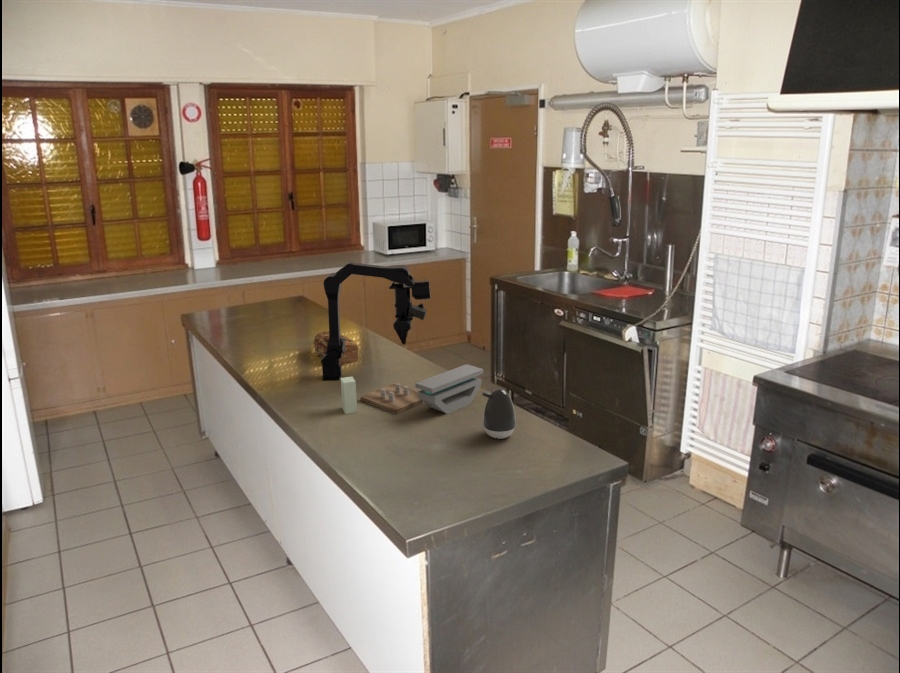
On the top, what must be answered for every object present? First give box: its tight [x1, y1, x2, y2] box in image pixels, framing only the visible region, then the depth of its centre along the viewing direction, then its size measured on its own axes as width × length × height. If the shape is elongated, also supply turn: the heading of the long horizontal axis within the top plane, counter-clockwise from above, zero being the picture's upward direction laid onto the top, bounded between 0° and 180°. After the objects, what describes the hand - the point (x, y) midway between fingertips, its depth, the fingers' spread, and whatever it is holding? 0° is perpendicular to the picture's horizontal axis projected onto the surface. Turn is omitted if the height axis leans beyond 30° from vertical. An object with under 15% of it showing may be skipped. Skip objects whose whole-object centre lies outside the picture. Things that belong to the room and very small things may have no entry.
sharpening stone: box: [414, 363, 484, 415], centre depth 235 cm, size 25×8×11 cm, turn 136°
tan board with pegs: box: [360, 382, 424, 415], centre depth 241 cm, size 16×18×4 cm
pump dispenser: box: [481, 388, 517, 440], centre depth 212 cm, size 10×10×15 cm
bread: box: [313, 330, 359, 365], centre depth 284 cm, size 19×11×10 cm, turn 40°
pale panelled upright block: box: [340, 376, 358, 415], centre depth 232 cm, size 4×6×11 cm
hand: (404, 340), depth 259 cm, fingers open, 9 cm apart
